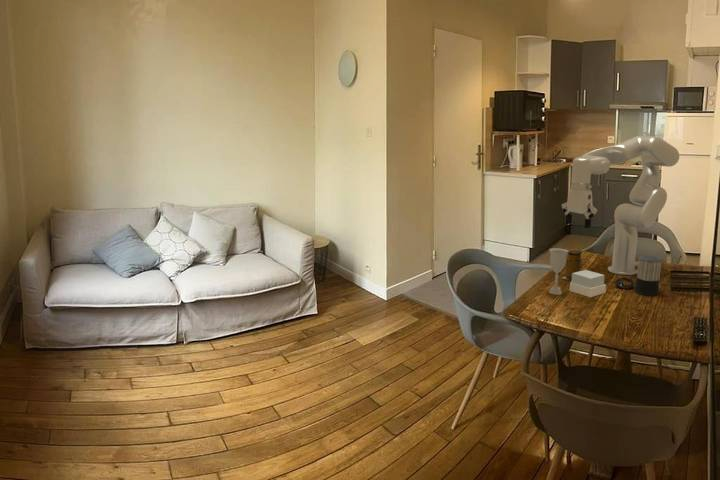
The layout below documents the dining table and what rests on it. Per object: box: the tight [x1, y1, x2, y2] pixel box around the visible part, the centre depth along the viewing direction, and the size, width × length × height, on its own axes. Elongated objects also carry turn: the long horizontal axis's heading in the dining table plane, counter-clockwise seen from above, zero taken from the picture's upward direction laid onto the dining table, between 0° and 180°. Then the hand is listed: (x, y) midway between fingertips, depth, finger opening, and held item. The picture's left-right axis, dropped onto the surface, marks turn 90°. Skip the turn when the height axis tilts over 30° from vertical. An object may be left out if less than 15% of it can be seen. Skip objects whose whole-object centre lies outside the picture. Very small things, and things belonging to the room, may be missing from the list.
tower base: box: [569, 282, 607, 298], centre depth 246 cm, size 10×10×4 cm
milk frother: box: [614, 254, 664, 297], centre depth 247 cm, size 14×16×15 cm
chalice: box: [548, 247, 569, 296], centre depth 243 cm, size 7×7×18 cm
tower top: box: [570, 269, 605, 288], centre depth 245 cm, size 9×9×4 cm
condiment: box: [561, 250, 582, 281], centre depth 263 cm, size 7×8×12 cm
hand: (577, 225), depth 258 cm, fingers open, 9 cm apart
